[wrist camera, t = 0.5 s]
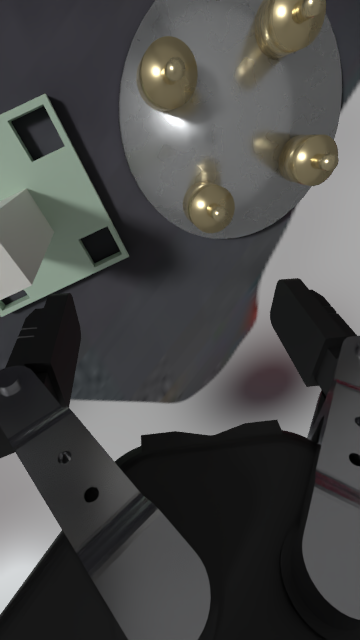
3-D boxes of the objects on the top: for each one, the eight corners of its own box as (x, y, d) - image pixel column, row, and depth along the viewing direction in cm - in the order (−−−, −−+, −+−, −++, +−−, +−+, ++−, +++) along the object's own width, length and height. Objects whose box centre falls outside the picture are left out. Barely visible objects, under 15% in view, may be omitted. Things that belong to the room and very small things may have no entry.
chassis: (70, 32, 23) (62, -1, 17) (317, -85, 23) (387, -155, 17) (171, 265, 34) (186, 290, 28) (339, 186, 34) (387, 196, 28)
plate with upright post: (-116, 172, 24) (-290, 202, 13) (47, 95, 24) (7, 60, 13) (4, 311, 32) (-44, 403, 21) (128, 252, 32) (145, 314, 21)
